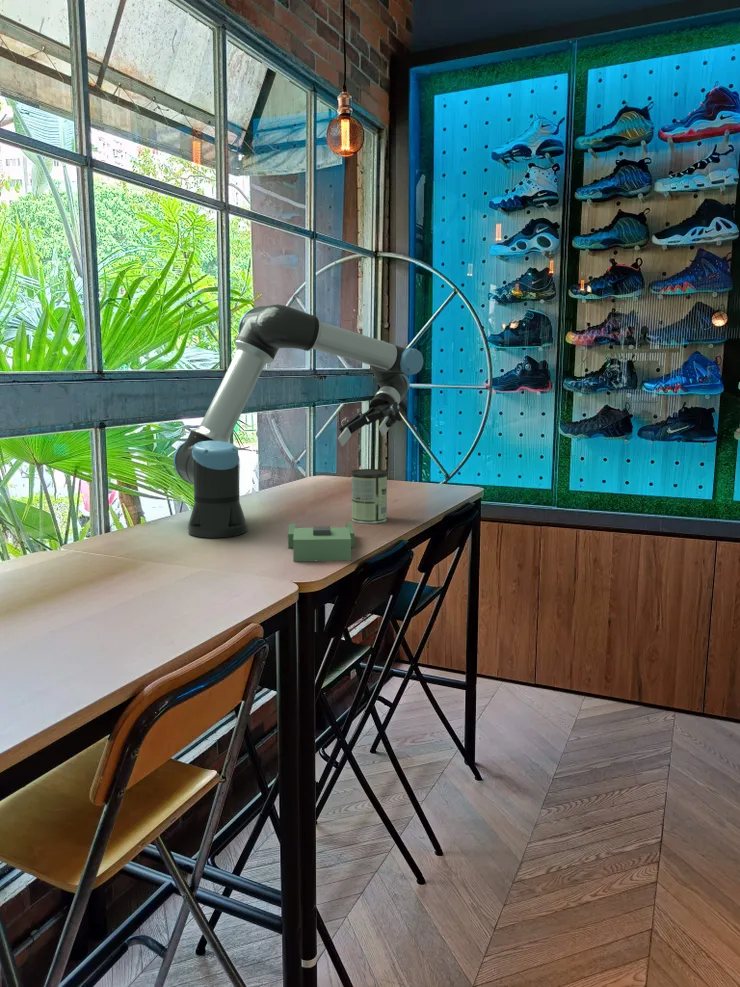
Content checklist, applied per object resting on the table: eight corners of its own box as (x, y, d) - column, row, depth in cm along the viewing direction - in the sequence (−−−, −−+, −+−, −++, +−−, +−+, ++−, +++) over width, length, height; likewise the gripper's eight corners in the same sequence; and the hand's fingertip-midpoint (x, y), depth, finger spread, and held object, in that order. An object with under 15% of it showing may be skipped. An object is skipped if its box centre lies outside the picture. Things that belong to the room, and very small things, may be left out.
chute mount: (286, 561, 166) (286, 534, 165) (289, 536, 190) (289, 513, 189) (357, 560, 168) (357, 533, 167) (351, 536, 191) (351, 512, 190)
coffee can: (353, 516, 216) (353, 468, 214) (388, 517, 215) (388, 469, 213) (348, 523, 206) (348, 473, 204) (385, 524, 205) (386, 474, 203)
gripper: (425, 404, 220) (404, 438, 204) (355, 423, 232) (329, 457, 216) (416, 382, 217) (393, 415, 201) (345, 402, 229) (318, 435, 213)
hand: (360, 437), depth 208 cm, fingers open, 13 cm apart
